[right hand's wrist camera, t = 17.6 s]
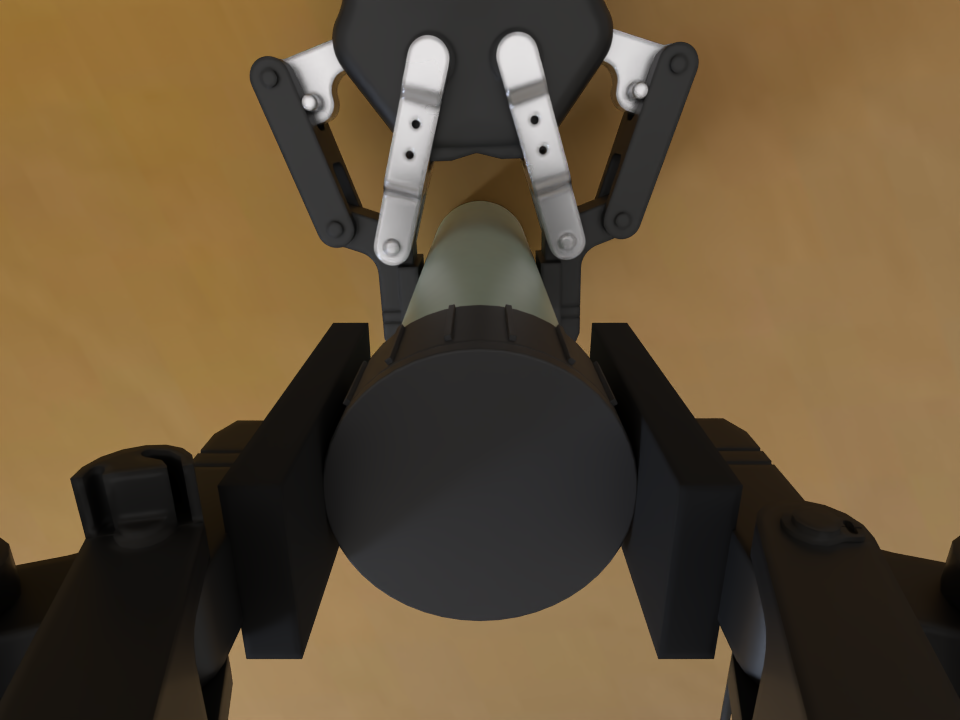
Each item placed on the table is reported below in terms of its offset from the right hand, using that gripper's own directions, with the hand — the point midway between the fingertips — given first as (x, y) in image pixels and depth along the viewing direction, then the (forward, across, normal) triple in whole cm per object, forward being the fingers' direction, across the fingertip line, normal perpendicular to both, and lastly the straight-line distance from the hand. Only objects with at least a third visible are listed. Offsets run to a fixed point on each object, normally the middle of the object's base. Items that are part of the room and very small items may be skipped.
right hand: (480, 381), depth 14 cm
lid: (-4, 0, 0) cm, 4 cm away
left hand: (+9, 0, -3) cm, 9 cm away
